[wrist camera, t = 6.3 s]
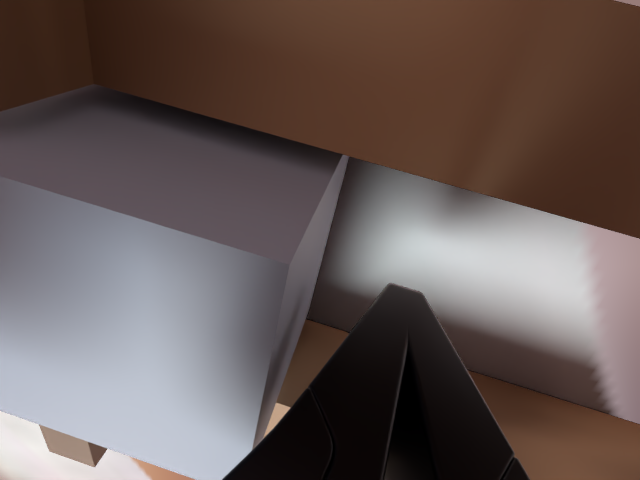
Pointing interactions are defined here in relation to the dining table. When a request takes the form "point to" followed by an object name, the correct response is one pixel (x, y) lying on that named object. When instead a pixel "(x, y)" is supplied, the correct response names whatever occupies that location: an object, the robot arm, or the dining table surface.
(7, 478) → the dining table surface
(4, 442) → the dining table surface
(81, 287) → the block
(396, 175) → the dining table surface
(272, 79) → the chute
